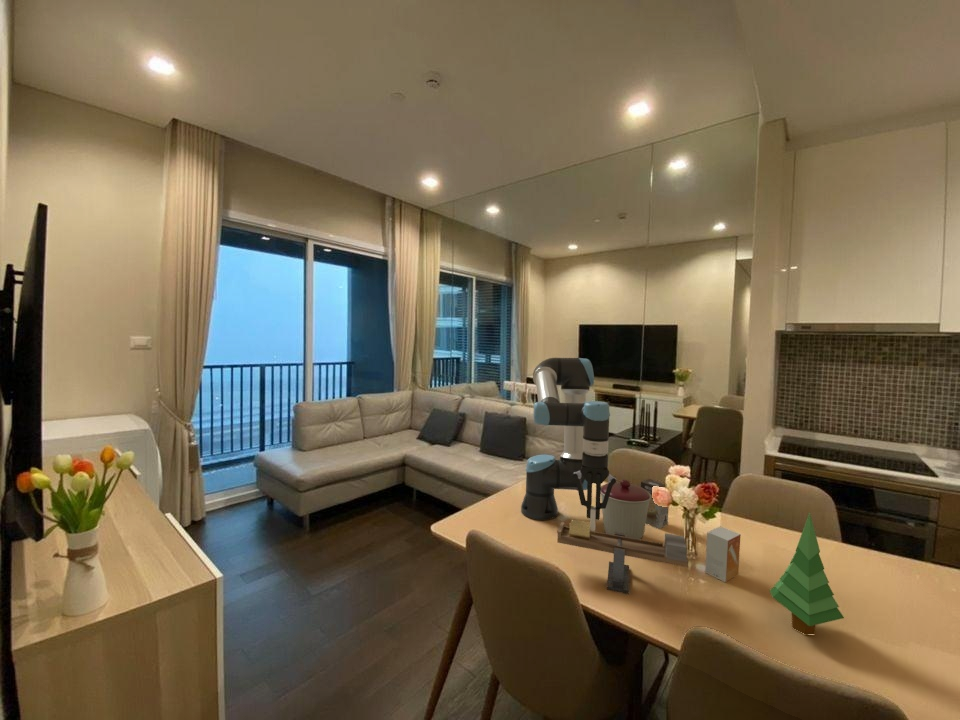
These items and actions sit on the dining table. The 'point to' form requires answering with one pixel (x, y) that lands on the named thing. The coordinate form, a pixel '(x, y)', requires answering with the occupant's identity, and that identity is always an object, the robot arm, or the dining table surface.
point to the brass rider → (580, 529)
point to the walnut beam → (632, 546)
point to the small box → (722, 553)
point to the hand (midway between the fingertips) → (592, 528)
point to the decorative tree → (807, 586)
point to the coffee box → (655, 507)
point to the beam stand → (618, 571)
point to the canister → (625, 509)
